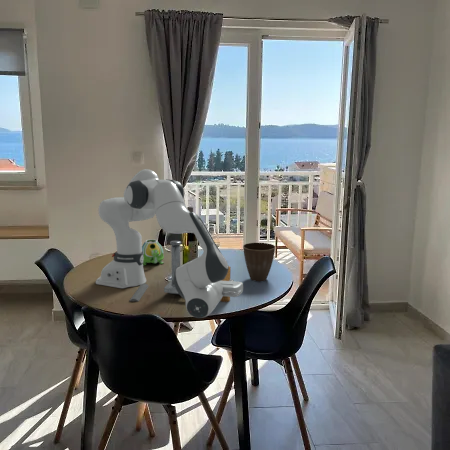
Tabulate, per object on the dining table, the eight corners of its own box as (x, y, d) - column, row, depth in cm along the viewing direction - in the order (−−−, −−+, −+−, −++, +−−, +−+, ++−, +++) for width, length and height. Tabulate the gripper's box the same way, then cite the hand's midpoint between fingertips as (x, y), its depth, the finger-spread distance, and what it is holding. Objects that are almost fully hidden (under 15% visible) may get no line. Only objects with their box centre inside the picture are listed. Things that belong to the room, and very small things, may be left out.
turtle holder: (143, 269, 220) (143, 246, 218) (138, 260, 237) (137, 238, 235) (168, 267, 224) (167, 244, 222) (161, 258, 241) (160, 237, 238)
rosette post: (163, 298, 180) (163, 245, 176) (172, 289, 190) (172, 240, 186) (197, 301, 177) (197, 248, 173) (204, 292, 187) (204, 242, 183)
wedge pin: (219, 301, 177) (219, 268, 174) (221, 298, 181) (221, 265, 178) (228, 302, 176) (229, 268, 173) (231, 299, 180) (231, 266, 177)
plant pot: (272, 285, 198) (273, 250, 195) (240, 283, 200) (240, 249, 197) (275, 275, 212) (276, 243, 209) (245, 273, 215) (245, 241, 212)
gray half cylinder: (128, 302, 176) (128, 298, 176) (139, 287, 195) (139, 283, 195) (138, 303, 176) (138, 298, 176) (149, 287, 195) (149, 283, 195)
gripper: (239, 285, 149) (246, 274, 162) (182, 281, 154) (193, 271, 167) (239, 303, 150) (246, 290, 164) (182, 298, 155) (194, 286, 168)
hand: (219, 280), depth 165 cm, fingers open, 8 cm apart
